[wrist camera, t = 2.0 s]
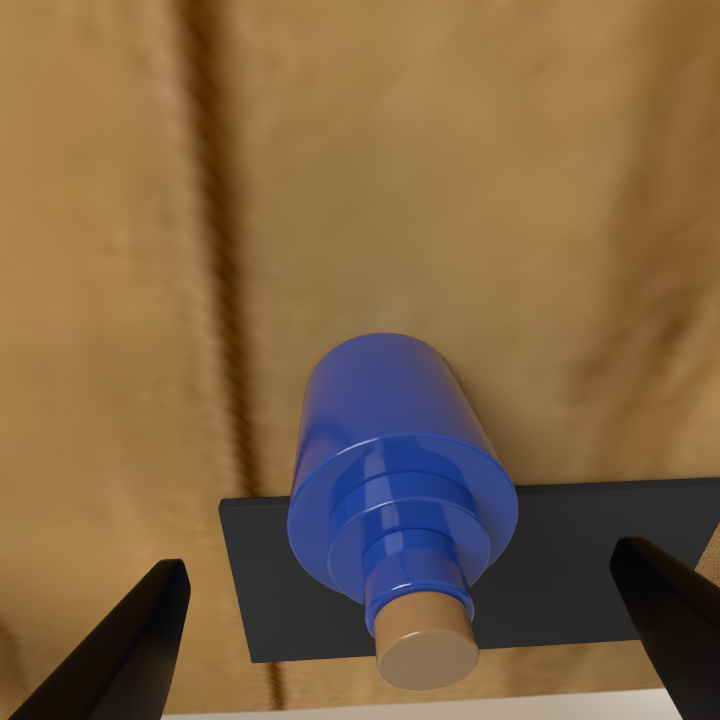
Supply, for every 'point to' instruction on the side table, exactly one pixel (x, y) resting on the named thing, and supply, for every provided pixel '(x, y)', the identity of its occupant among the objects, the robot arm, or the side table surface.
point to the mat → (495, 585)
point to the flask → (399, 502)
